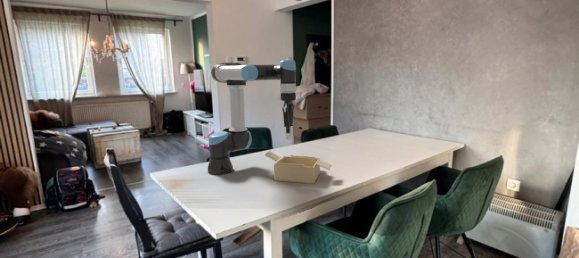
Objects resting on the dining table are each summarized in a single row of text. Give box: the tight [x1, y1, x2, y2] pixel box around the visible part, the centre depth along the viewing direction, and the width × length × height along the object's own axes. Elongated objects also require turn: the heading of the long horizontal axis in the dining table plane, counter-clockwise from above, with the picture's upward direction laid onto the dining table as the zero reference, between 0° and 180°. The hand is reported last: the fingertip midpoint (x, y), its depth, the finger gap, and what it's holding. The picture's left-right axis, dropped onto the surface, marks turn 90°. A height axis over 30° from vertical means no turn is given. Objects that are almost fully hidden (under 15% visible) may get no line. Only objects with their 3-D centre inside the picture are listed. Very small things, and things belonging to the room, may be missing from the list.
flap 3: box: [290, 155, 316, 158], centre depth 188 cm, size 14×8×1 cm, turn 74°
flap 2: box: [276, 162, 306, 167], centre depth 163 cm, size 14×8×1 cm, turn 74°
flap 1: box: [264, 150, 281, 162], centre depth 179 cm, size 8×8×1 cm
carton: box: [273, 155, 321, 185], centre depth 176 cm, size 22×18×9 cm
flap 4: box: [316, 159, 333, 171], centre depth 172 cm, size 8×8×1 cm
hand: (288, 139), depth 158 cm, fingers closed
